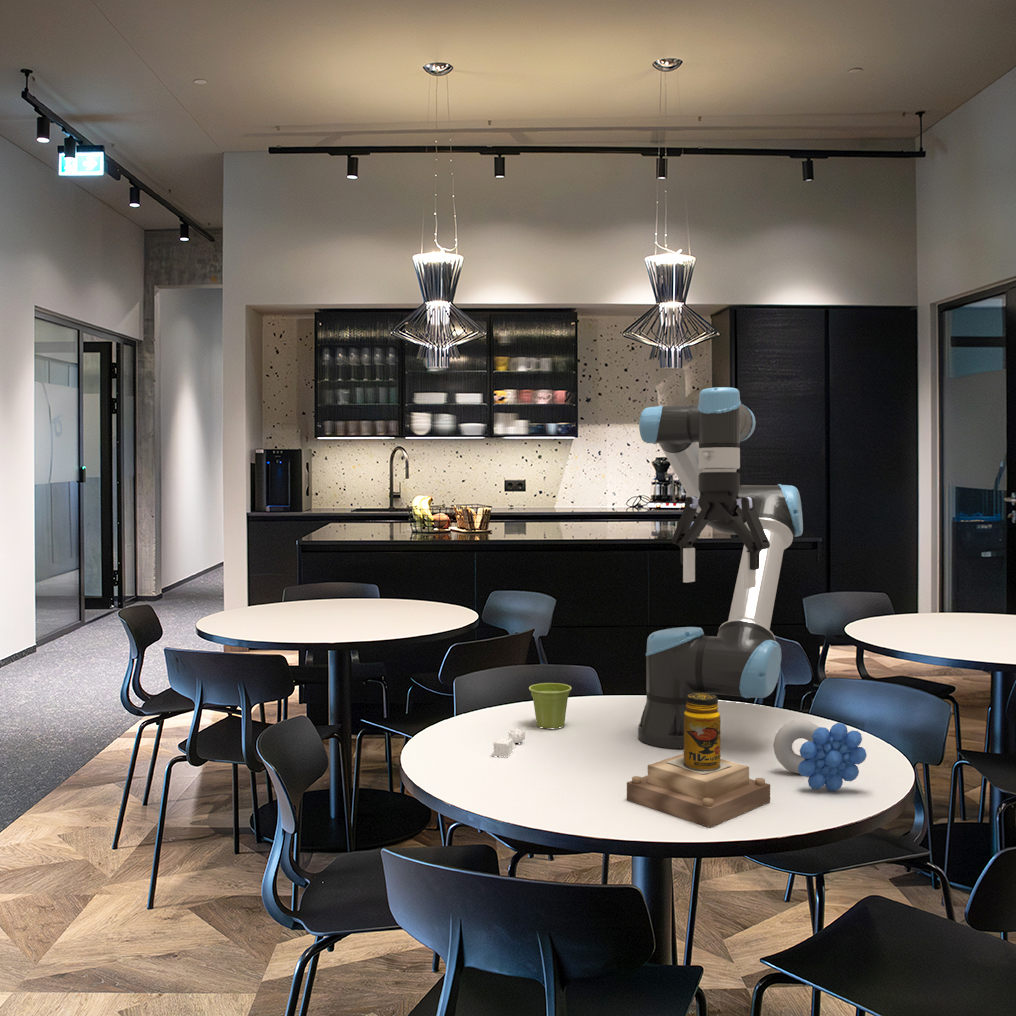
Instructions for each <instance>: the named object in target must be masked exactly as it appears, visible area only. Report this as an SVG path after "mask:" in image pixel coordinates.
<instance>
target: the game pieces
mask: <svg viewBox="0 0 1016 1016" xmlns="http://www.w3.org/2000/svg"><path fill="white" fill-rule="evenodd" d="M507 736H508V738H507V739H506V738H501V737H500V738H497V739H496V740H495V741H493V745H492V746H493V754H492V755H493V757H494V756H503V757H504V756H505V757H509V756H510V754H511V753H514V751H512V750H513V749H515V748H517V744H515V743H520V742H522V743H523V741H524V740H525V739H526V731H525V730H523V729H522V730H521V729H519V728H514V729H512V730H510V732H508V733H507ZM520 744H521V743H520ZM517 749H518V748H517ZM505 757H504V758H505ZM510 757H511V756H510ZM510 757H509V758H510Z"/></svg>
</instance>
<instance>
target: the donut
mask: <svg viewBox="0 0 1016 1016" xmlns="http://www.w3.org/2000/svg"><path fill="white" fill-rule="evenodd" d="M819 727H820V726H819V725H817V724H815V723H814V722H812V721H810V720H803V719H795V720H790V721H789V722H787V723H784V724H783V725H782V726H781V727H780V728H779V729H778V730H777V732H776V734H775V736H774V740H773V745H772V746H773V751H774V755H775V758H776V759H777V762H778V763H779V764H780V765H781V766H782V767H783V768H785V769H786V770H788V771H790V772H791V773H794V774H799V771H798V766H799V764H800V762H801V761H803V760H805V759H804V758H803V757H801V755H800V754H799V755H798V754H797V753H796V752H795V751H794V750H793V744H794V742H795V741H796V740H799V739H804V740H806V741H809V742H813V739H812V735H813V732H814V731H815V730H816V729H817V728H819ZM799 775H800V774H799Z"/></svg>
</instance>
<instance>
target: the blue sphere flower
mask: <svg viewBox="0 0 1016 1016" xmlns="http://www.w3.org/2000/svg"><path fill="white" fill-rule="evenodd" d="M830 727H831V728H830V729H828V728H827V727H824V726H823V727H822V726H819V728H817V729H816V730H815V731H814V732H813V735H812V739H813V742H809V741H808V740H806V741H805V742H804V743H803V744H801V746H800V748H799V755H800V756H801V757H803V758H804V759H805V760H803V761H801V762H800V764H799V766H798V771H799V775H800V776H802V777H805V778H806V777H807V778H808V779H807V783H808V786H809V787H810V788H811V789H813V790H819V789H822V788H823V787H824V786H825V788H826V789H827V790H828V791H829V792H830V791H831V792H836V791H838V790H840V789H841V788H842V786H843V784H844V781H845V782H853V781H855V780H856V779H857V777H858V776H859V773H860V771H859V770H860V769H859V767H858V766H859V765H860V764H862V763H864V762H865V760H866V758H867V755H868V754H867V751H866V749H865V748H864V747H863V746H860V745H861V743H862V741H863V737H862V734H861V732H859V731H858V730H850V731H849V730H848V727H847V725H846V724H845V723H843V722H837V723H834V724H833V725H832V726H830ZM857 765H858V766H857Z"/></svg>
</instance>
